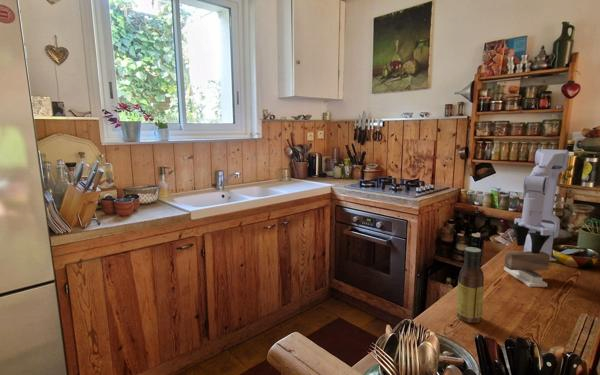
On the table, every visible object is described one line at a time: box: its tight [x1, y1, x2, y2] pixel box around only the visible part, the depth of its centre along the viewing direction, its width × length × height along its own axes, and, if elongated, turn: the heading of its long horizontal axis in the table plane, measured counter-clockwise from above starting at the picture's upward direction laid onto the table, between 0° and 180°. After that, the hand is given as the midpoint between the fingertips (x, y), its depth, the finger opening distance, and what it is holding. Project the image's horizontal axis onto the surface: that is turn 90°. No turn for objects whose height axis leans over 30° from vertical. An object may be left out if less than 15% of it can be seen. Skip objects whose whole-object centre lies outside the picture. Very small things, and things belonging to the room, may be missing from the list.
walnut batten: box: [503, 250, 550, 271], centre depth 119 cm, size 4×13×6 cm, turn 91°
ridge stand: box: [503, 266, 548, 288], centre depth 120 cm, size 14×6×4 cm, turn 1°
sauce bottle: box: [456, 246, 485, 324], centre depth 92 cm, size 7×6×20 cm
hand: (527, 249), depth 118 cm, fingers open, 7 cm apart
